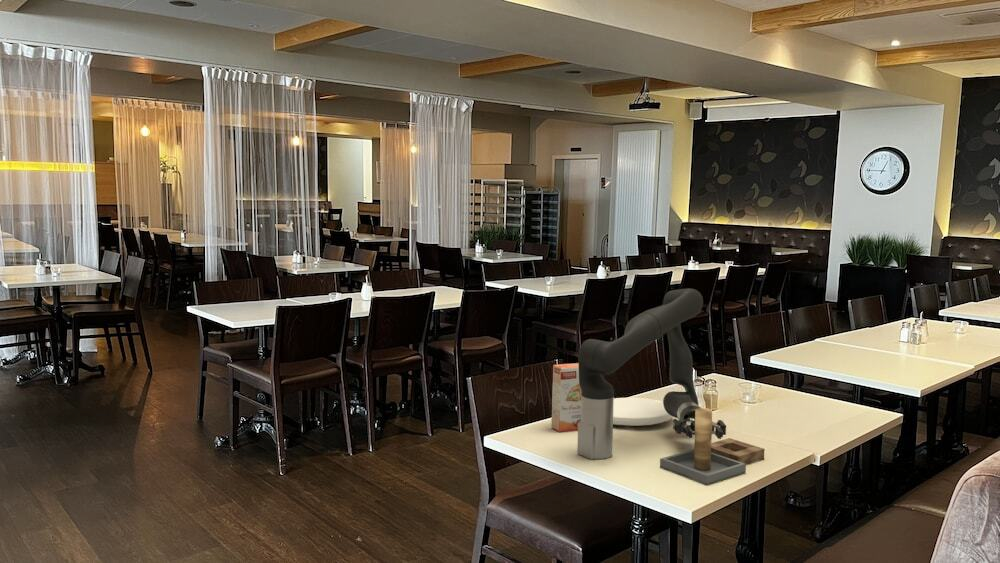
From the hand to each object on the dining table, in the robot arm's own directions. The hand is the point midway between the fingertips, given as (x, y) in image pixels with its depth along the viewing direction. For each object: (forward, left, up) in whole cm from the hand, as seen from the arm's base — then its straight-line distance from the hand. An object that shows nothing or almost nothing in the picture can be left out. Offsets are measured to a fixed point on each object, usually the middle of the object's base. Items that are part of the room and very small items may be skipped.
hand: (705, 434), depth 199 cm
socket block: (+17, +4, -11) cm, 21 cm away
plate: (+21, +48, -11) cm, 53 cm away
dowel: (+1, +2, -10) cm, 10 cm away
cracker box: (-2, +51, -11) cm, 52 cm away
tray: (+1, +2, -11) cm, 11 cm away
